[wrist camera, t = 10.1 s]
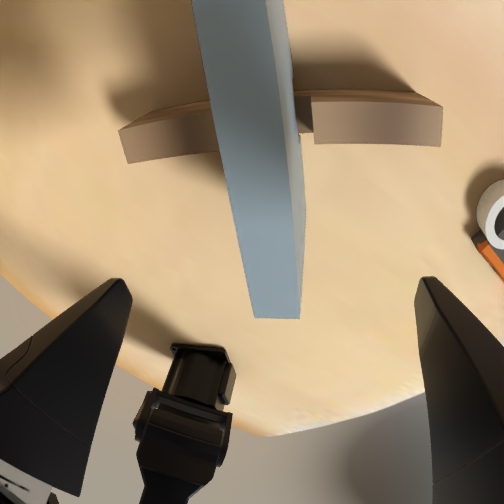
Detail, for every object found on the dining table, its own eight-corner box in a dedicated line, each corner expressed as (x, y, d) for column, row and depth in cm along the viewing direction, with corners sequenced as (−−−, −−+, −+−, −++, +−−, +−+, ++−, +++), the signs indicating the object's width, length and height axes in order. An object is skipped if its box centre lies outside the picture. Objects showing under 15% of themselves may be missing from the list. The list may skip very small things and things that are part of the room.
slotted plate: (306, 211, 20) (299, 318, 13) (275, 212, 21) (254, 318, 14) (281, -9, 12) (254, -59, 5) (244, -4, 12) (183, -43, 5)
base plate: (158, 140, 19) (127, 164, 15) (150, 111, 17) (118, 130, 14) (416, 124, 15) (440, 147, 12) (416, 92, 14) (442, 107, 11)
